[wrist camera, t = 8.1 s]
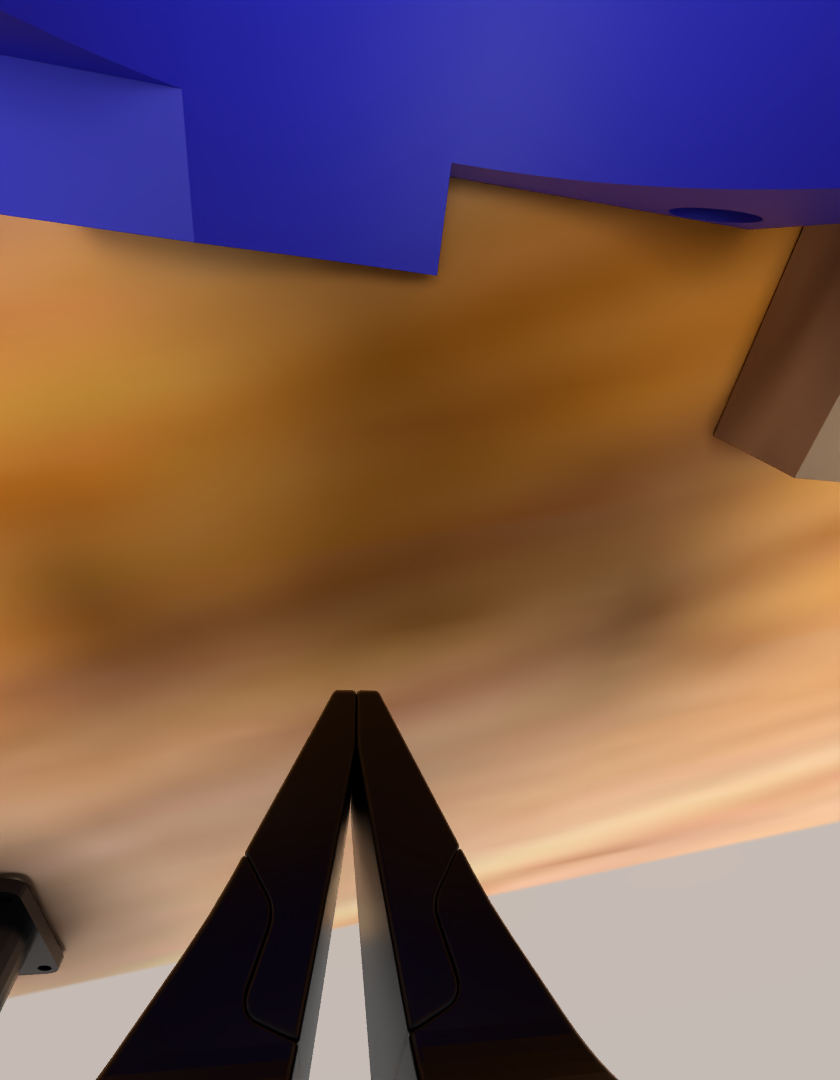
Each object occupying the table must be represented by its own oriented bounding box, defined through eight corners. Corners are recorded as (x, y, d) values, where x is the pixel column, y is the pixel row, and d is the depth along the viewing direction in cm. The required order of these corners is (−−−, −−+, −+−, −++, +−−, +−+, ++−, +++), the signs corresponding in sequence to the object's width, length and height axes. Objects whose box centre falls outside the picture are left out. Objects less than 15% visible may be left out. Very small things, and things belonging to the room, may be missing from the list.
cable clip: (84, 222, 8) (-354, 172, 3) (12, -193, 6) (-1630, -2270, 1) (710, 314, 10) (1061, 375, 5) (825, 14, 8) (1651, -415, 3)
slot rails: (770, 441, 12) (863, 484, 9) (-160, 347, 9) (-328, 377, 7) (1036, -97, 7) (1308, -239, 5) (-563, -591, 5) (-1349, -1306, 3)
